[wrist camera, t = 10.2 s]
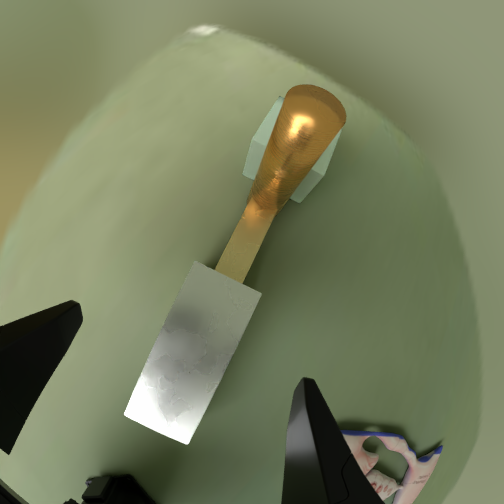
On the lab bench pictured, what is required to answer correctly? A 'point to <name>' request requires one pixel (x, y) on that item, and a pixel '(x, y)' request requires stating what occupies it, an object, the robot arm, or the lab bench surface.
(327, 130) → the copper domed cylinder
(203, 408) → the aluminium sleeve
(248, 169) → the green socket
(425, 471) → the anatomical model
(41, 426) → the lab bench surface
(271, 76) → the lab bench surface
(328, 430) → the robot arm
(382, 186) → the lab bench surface
